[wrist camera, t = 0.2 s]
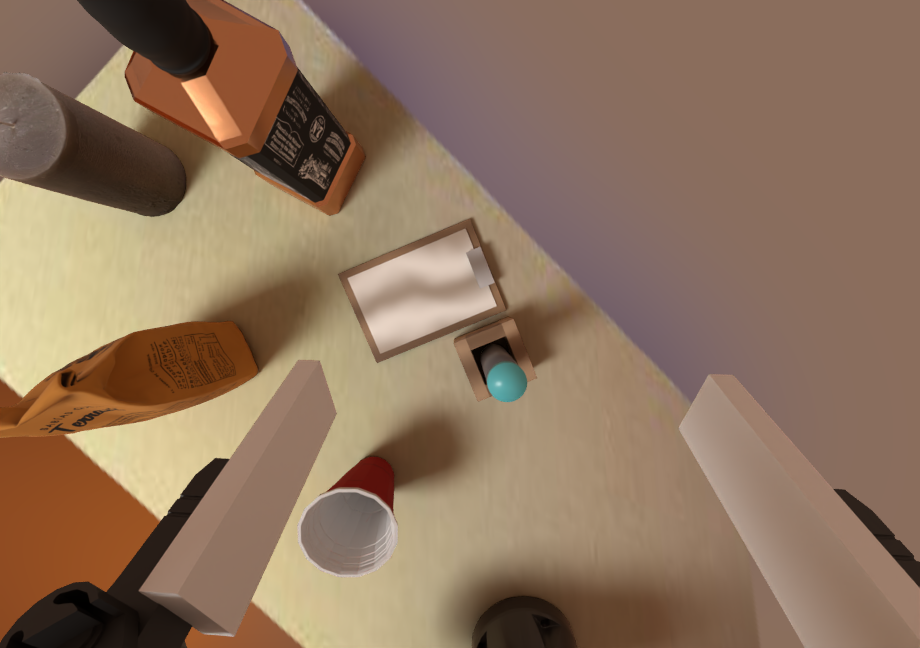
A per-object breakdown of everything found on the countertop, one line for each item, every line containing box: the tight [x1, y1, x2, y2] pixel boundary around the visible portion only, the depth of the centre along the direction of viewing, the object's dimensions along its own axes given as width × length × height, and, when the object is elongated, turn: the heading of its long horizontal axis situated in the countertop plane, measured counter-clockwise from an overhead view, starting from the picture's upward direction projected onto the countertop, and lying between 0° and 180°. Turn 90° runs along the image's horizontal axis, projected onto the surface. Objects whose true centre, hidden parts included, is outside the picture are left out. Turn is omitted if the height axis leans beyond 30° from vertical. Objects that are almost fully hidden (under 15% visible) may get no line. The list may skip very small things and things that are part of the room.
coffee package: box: [0, 321, 258, 438], centre depth 35 cm, size 10×12×22 cm
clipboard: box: [338, 219, 506, 363], centre depth 45 cm, size 13×19×2 cm
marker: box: [480, 344, 527, 402], centre depth 39 cm, size 4×4×15 cm
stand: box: [454, 317, 537, 401], centre depth 44 cm, size 8×8×4 cm
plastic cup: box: [298, 457, 398, 577], centre depth 42 cm, size 11×11×12 cm
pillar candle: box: [0, 72, 186, 217], centre depth 37 cm, size 10×10×15 cm
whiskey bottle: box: [77, 0, 366, 216], centre depth 28 cm, size 10×10×32 cm
